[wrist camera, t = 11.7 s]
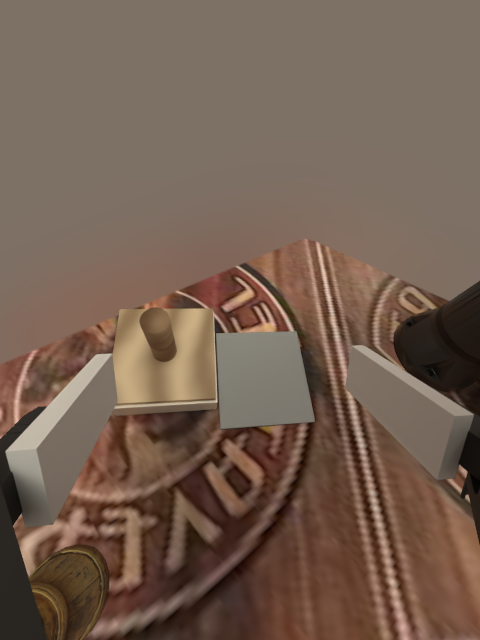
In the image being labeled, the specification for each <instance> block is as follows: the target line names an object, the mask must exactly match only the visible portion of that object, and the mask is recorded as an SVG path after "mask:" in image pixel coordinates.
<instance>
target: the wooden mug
mask: <svg viewBox="0 0 480 640" xmlns="http://www.w3.org/2000/svg"><path fill="white" fill-rule="evenodd" d="M29 581H30V585H31V588H32V591H33V595H34V598H35V601H36V604H37V608H38V611H39V614H40V618H41V621H42V624H43V628H44V631H45V634H46V638H47V640H83V639H84V638H85V637H86V636H87V635H88V634H89V633H90V632H91V631H92V630H93V628H94V626H95V624H96V622H97V621H98V619H99V617H100V615H101V613H102V610H103V608H104V605H105V603H106V599H107V594H108V589H109V573H108V569H107V564H106V562H105V560H104V558H103V557H102V555H101V553H100V552H98V551H97V550H96V549H95V548H94V547H90V546H87V545H74V546H70V547H66V548H64V549H62V550H60V551H58V552H56V553H54V554H53V555H51V556H50V557H49V558H48V559H46V560H45V561H44V562H43V563H42V564H40V565H39V566H38V567H37V568H36V569H35V571H34V572H33V573H32V574H31V575H30V577H29Z"/></svg>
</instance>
